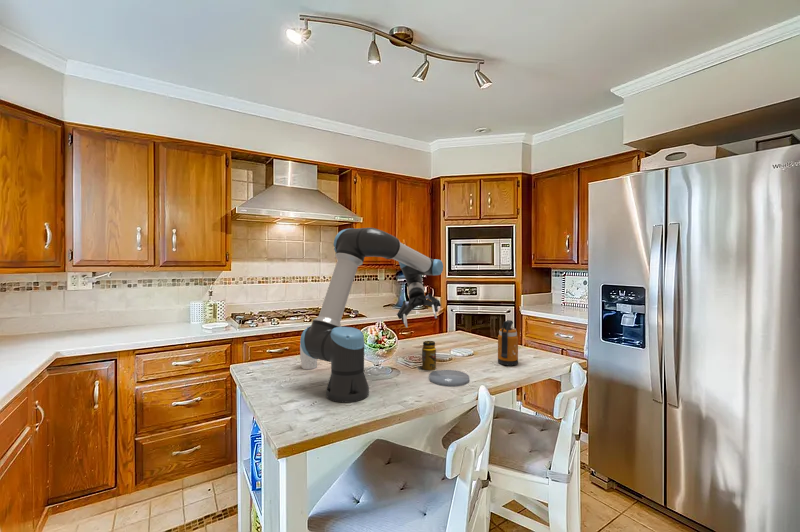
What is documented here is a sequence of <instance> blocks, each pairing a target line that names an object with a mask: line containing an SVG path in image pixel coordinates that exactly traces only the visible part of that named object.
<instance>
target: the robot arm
mask: <svg viewBox="0 0 800 532" xmlns="http://www.w3.org/2000/svg"><path fill="white" fill-rule="evenodd" d="M333 240H334V241H333V250H334V252H335V255H334V256H335V258H336V260H337V261H336V264H335V267H334V270H333V273H332V274H331V275H332V276H331V278H330V282H329V284H328V287H327V290H326V293H325V296H324V298H323V299H324V300H323V303H322V305H321V309H320V311H319V314H318V316H317V317H315V318H314V319H313V320H312V322H311V325H310V326H307V327H306V328H304V330H303V331H302V332H301V335H300V340H299V341H300V342H299V344H300V345H301V348H302V351H303V352H304V353H305V354H306V355H307V356H309V357H312V358H314V359H318V360H320V361H325V362H329V363H330V368H331V369H330V371H331V372H330V377H329V380H328V384H327V386H326V389H325V390H326V391H325V397H326V398H327V399H328V400H329V401H332V402H337V403H354V402H359V401H362V400H364V399H366V398H367V397H369V394H370V386H369V383H368V380H367V378H366V375H365V338H364V337H365V336H364V333H363V331H362V330H360V329H358V328H356V327H351V326H343V325H341V321H342V318H343V314H344V311H345V309H346V305H347V303H348V299H349V295H350V293H351V289H352V286H353V282H354V280H355V277H356V274H357V270H358V268H359V267H360V266H362V265H363V264H364V260H365V258H367V257H368V258H370V257H371V258H372V257H374V258H375V257H376V258H384V259H387V260H394V261H396V262H398V264H399V268H400V269H401V271H402V274H403V277H404V279H405V281H406V283H407V288H408V289H407V290H408V291H407V292H408V298H409V299H408V301H406V300H403V301H402V304H401V307H400V308H399V310H398V312H397V313H396V317H398V319H399V320H401V321H402V323H403V324H404V327H405V328H406V329H407V328H409V327H408V320H407V316H408V315H409V314H410V313H411V311H412V310H414V309H415V308H418V307H421V306H422V305H423V306H429V308H432V312H433V316H434V319H438V316H437V313H438V311H439V309H438V307H441V306H442V304H441V301H440V300H439V299H437V298H436V297H434V296H433V295H432V293H431V292H428V293H427V295H425V294H426V293H425V289H424V283H423V277H422V276H423V275H424V276H440V275H442V274H443V271H444V263H443V261H442V260H441V259H438V258H437V259H436V258H435V259H434V258H431V257H428V256H427V255H425V254H423V253H421V252H419V251H418V250H415V249H413V248H411V247H410V246H408V245H406V244H404V243H402V242H401V241H400V239H399V238H397V236H395V235H393V234H390V233H388V232H386V231H384V230H381V229H378V228H374V227H361V228H359V227H358V228H353V227H351V228H350V227H349V228H345V229H342V230H340V231H338V233H337V234H336V235H335V237H334V239H333Z"/></svg>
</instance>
